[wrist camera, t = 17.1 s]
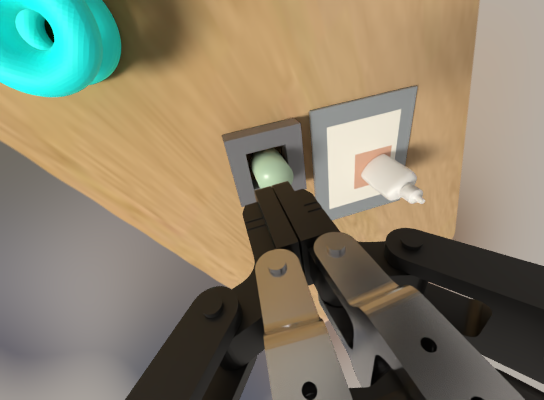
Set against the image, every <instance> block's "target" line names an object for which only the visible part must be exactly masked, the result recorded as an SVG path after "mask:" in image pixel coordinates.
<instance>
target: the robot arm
mask: <svg viewBox="0 0 544 400" xmlns="http://www.w3.org/2000/svg"><path fill="white" fill-rule="evenodd" d="M254 194H255V198H256V202H255V203H252V204H248V205H245V208H244V211H243V218H244V222H245V225H246V229H247V233H248V237H249V240H250V244H251V248H252V251H253V255H254V259H255V265H254V269H253V271H252V273H251V274H250V276H249V277H248V278H247V279H246V280H245V281H244V282H242V283H241V284H239V285H238V286H236V287H235V288H233V289H232V290H231V289H230V288H227V287H223V286H218V287H213V288H210V289H207V290H206V291H204V292H202V293H201V294H200V295H199V296H198V297H197V298H196V299H195V300H194V302H193V303H192V305H191V306H190V307H189V309H188V310H187V312H186V313H185V315H184V316H183V317H182V319H181V320H180V322H179V323H178V324H177V326H176V327H175V329H174V330H173V332H172V333H171V335H170V336H169V337H168V339H167V340H166V342H165V343H164V345H163V346H162V347H161V349H160V350H159V352H158V353H157V355H156V356H155V357H154V359H153V360H152V362H151V363H150V365H149V366H148V368H147V369H146V370H145V372H144V373H143V375H142V376H141V378H140V379H139V381H138V382H137V383H136V385H135V386H134V388H133V389H132V390H131V392H130V394H129V395H128V396H127V398H126V399H125V400H239V399H240V397H241V394H242V392H243V390H244V387H245V385H246V383H247V380H248V378H249V375H250V373H251V370H252V368H253V366H254V364H255V361H256V358H257V355H258V354H259V353H260V352H261V351H263V350H264V349H265V353H266V359H267V366H268V373H269V380H270V386H271V393H272V399H273V400H544V392H541V391H540V390H538V389H536V388H534V387H532V386H530V385H528V384H526V383H524V382H522V381H520V380H518V379H516V378H514V377H512V376H511V375H509V374H507V373H505V372H503V371H501V370H498V369H496V368H494V367H493V366H492V365H491V364H490V363H489V362H488V361H487V360H486V359H485V358H484V357H483V356H482V355H484V356H486V357H488V358H490V359H492V360H494V361H496V362H498V363H501V364H502V365H504V366H507V367H509V368H511V369H513V370H515V371H517V372H519V373H521V374H523V375H526V376H528V377H530V378H532V379H534V380H536V381H538V382H540V383H542V384H544V266H541V265H538V264H534V263H531V262H527V261H524V260H520V259H517V258H513V257H510V256H506V255H503V254H499V253H496V252H493V251H489V250H486V249H482V248H479V247H475V246H472V245H468V244H465V243H461V242H458V241H454V240H451V239H447V238H444V237H440V236H437V235H433V234H430V233H427V232H423V231H420V230H416V229H411V228H400V229H396V230H393V231H392V232H390V233H389V234H388V235H387V237H386V241H384V242H358V241H356V240H355V239H354V238H353V237H351V236H350V235H348V234H345V233H342V232H340V231H339V230H338V228H337V227H336V226H335V224H334V223H333V222H332V220H331V219H330V217H329V216H328V215H327V213H326V212H325V211H324V209H322V206H321V205H320V204H319V202H318V201H317V200H316V198H315V197H314V196H313V194H312V193H310V192H308V191H306V190H304V189H300V190H297V191H294V189H293V188H292V186H291V184H290V183H289V182H288V181H286V182H282V183H279V184H275V185H272V186H268V187H265V188H261V189H258V190H254ZM428 282H431V283H434V284H436V285H439V286H441V287H444V288H447V289H449V290H452V291H455V292H457V293H460V294H462V295H465V296H468V297H470V298H473V299H469V298H466V297H464V296H461V295H459V294H456V293H453V292H451V291H448V290H446V289H443V288H440V287H438V286H435V285H433V284H430V283H428ZM311 284H314V285H315V287H316V289H317V291H318V298H319V302H320V305H321V306H322V308H323V310H324V312H325V314H326V315H327V317H328V319H329V321H330V322H331V324H332V326H333V328H334V330H335V331H336V333H337V335H338V336H339V338H340V340H341V342H342V344H343V345H344V347H345V349H346V351H347V353H348V355H349V357H350V360H351V363H352V366H353V369H354V372H355V374H356V376H357V379H358V381H359V383H360V384H361V386H362V388H348V385H347V383H346V380H345V377H344V374H343V372H342V369H341V366H340V363H339V361H338V358H337V355H336V352H335V350H334V347H333V344H332V341H331V340H330V336H329V333H328V331H327V328H326V326H325V323H324V321H323V320H322V319H320V317H319V315H318V312H317V310H316V307H315V304H314V301H313V298H312V296H311V293H310V290H309V287H308V285H311Z"/></svg>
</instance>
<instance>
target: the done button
mask: <svg viewBox="0 0 544 400" xmlns="http://www.w3.org/2000/svg"><path fill="white" fill-rule="evenodd" d="M250 166H251V169H252V171H253V173H254V176H255V178H256V180H257V182H258V184H259V187H260V188H265V187H268V186H272V185H275V184H279V183H282V182H286V181H288V182H289V183H290V184H292V182H293V171H292V169H291V168H290V167H289V165H288V164H287V163H286V161H285V160H284V159H283V157H282V156H281V155H280V153H279V152H278V151H277V150H276V149H274V148H269V149H265V150H261V151H257V152H255V153H254V154H253V155H252V157H251V160H250Z"/></svg>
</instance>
